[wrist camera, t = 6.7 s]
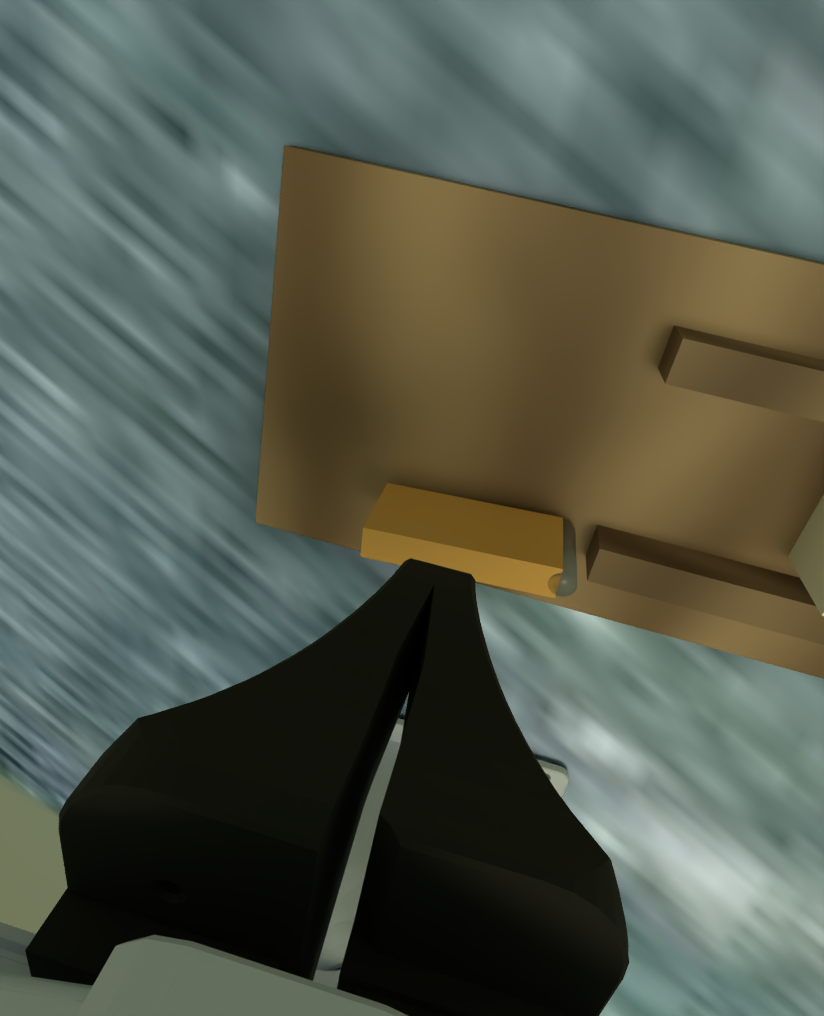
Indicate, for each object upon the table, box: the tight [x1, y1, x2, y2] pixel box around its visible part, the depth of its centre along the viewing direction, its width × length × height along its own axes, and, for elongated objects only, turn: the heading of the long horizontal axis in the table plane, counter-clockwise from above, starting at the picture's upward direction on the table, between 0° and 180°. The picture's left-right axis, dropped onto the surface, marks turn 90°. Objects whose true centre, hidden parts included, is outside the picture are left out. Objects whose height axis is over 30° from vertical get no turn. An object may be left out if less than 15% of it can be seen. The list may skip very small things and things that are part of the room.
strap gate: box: [360, 483, 577, 598], centre depth 20 cm, size 1×6×3 cm, turn 83°
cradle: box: [255, 146, 824, 678], centre depth 19 cm, size 30×12×2 cm, turn 78°
